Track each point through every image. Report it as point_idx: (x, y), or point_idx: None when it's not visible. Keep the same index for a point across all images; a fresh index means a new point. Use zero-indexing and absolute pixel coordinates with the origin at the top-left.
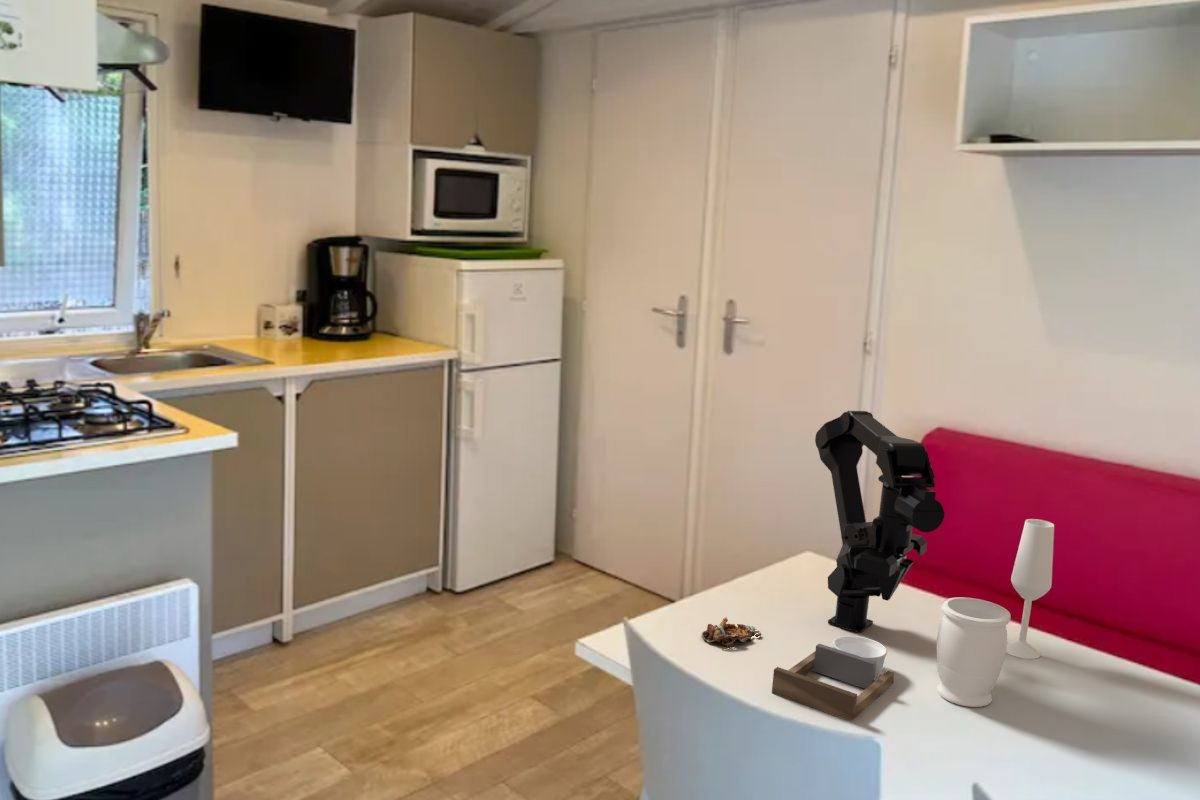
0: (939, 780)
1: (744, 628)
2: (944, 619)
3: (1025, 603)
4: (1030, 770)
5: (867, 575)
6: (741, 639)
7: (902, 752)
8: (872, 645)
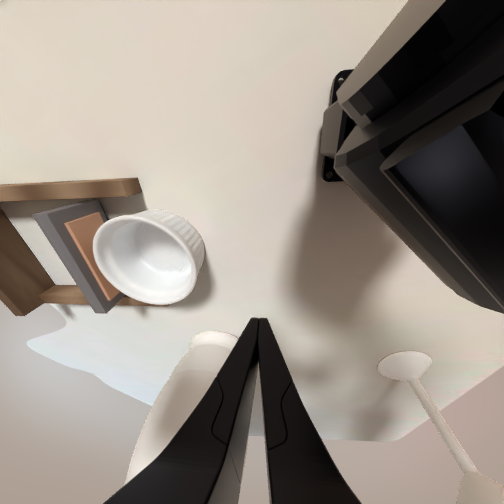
0: (67, 360)
1: None
2: (136, 470)
3: (461, 462)
4: (145, 390)
5: (417, 242)
6: None
7: (66, 336)
8: (191, 270)
